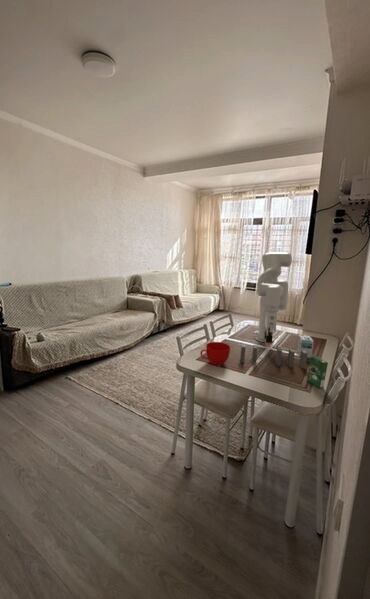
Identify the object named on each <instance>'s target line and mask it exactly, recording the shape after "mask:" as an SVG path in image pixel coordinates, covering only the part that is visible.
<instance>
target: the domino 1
mask: <svg viewBox="0 0 370 599" xmlns="http://www.w3.org/2000/svg"><path fill="white" fill-rule="evenodd" d="M240 346H241V348H240V358H239V360H240V361H239V362H240V363H245V357H246V349H247V348H246V344H245V343H241V345H240Z"/></svg>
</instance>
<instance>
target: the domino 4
mask: <svg viewBox="0 0 370 599" xmlns="http://www.w3.org/2000/svg"><path fill="white" fill-rule="evenodd" d="M275 351H276V353H275V359H274V360H275V361H274V362H275V365H277V366H276V367H281V365H282V364H281V363H282V357H283V349H282V348H281V347H278V346H277V347H276V350H275Z"/></svg>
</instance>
